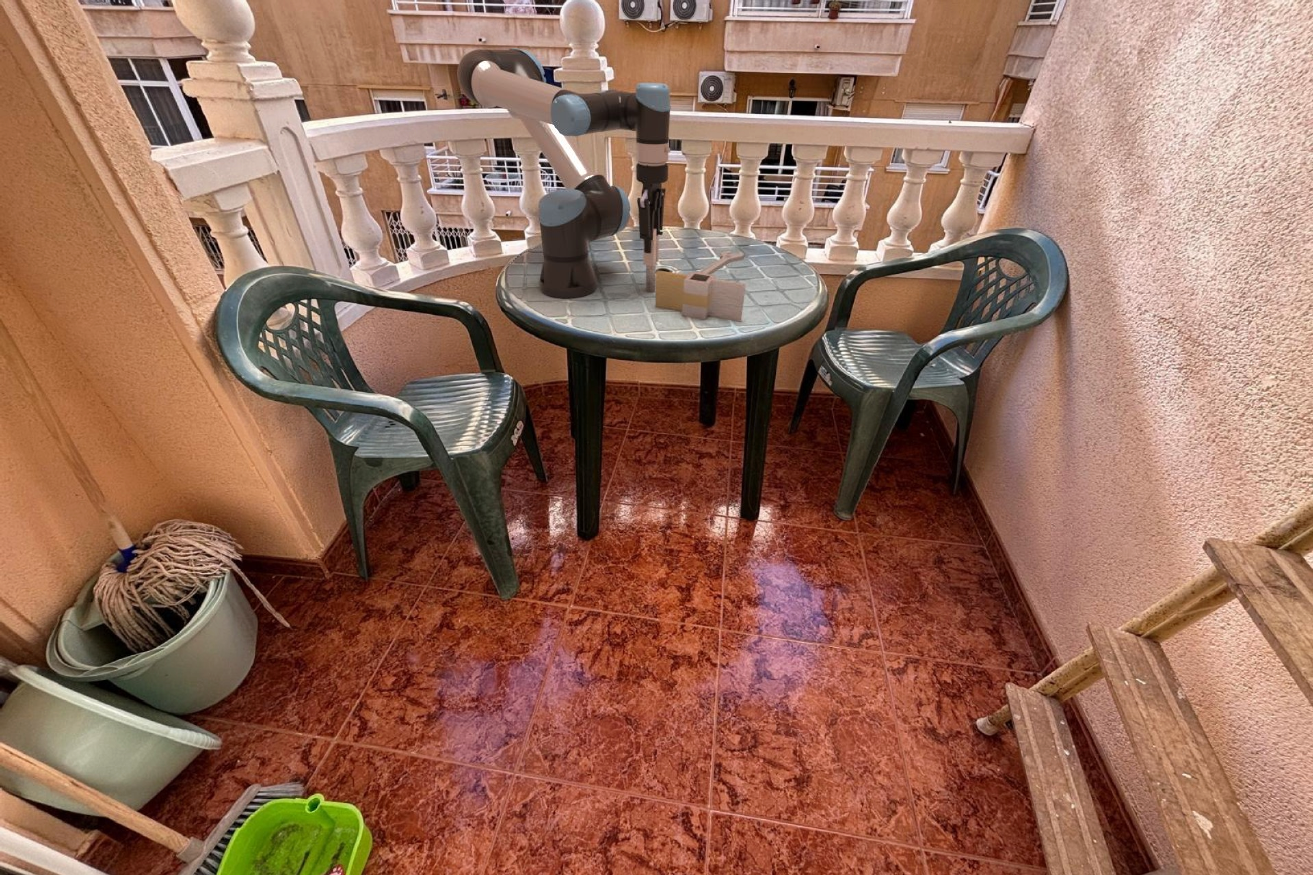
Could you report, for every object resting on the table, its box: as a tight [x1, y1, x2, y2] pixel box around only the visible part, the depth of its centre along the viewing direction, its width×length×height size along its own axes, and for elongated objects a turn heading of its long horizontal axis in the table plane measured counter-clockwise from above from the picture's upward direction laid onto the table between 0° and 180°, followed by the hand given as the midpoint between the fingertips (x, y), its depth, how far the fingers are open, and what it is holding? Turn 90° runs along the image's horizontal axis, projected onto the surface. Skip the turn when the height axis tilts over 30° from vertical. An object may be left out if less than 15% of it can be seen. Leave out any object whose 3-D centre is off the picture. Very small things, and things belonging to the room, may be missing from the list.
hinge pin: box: [645, 228, 657, 293], centre depth 138 cm, size 2×2×16 cm
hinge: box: [655, 269, 747, 322], centre depth 129 cm, size 22×6×9 cm, turn 69°
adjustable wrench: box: [697, 250, 744, 275], centre depth 159 cm, size 25×6×2 cm, turn 142°
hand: (651, 262), depth 138 cm, fingers closed on hinge pin, 2 cm apart
